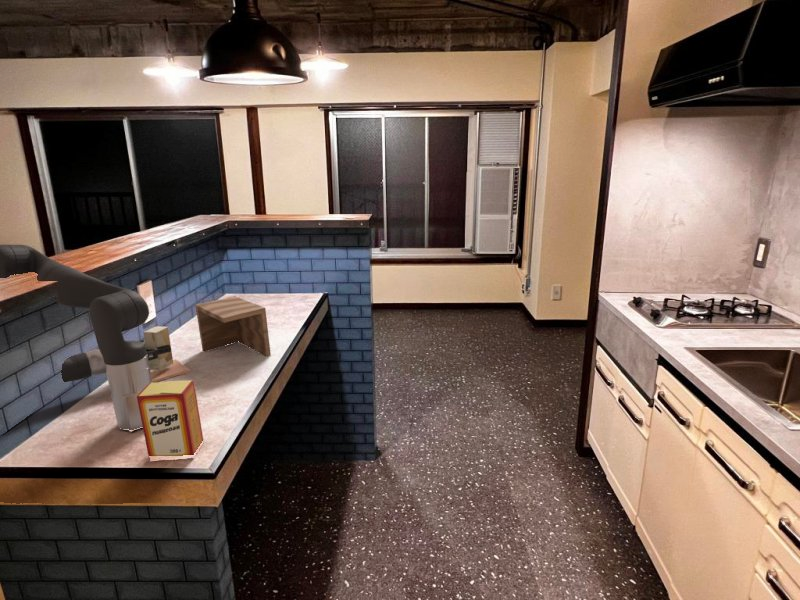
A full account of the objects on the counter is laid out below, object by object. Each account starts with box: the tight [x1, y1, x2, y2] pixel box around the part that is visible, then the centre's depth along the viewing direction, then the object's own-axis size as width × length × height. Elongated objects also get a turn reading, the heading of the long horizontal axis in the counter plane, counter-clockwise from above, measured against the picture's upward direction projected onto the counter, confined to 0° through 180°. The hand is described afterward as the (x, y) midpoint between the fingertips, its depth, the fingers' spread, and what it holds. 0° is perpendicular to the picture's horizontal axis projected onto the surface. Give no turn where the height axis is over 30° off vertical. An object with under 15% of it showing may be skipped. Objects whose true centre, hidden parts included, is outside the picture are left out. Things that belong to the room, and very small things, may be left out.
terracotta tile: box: [150, 359, 191, 383], centre depth 154 cm, size 12×12×1 cm
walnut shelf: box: [195, 296, 272, 358], centre depth 165 cm, size 22×14×16 cm, turn 43°
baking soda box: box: [137, 379, 204, 457], centre depth 109 cm, size 10×6×16 cm
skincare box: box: [142, 325, 174, 370], centre depth 152 cm, size 6×4×12 cm
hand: (165, 344), depth 153 cm, fingers closed on skincare box, 6 cm apart
